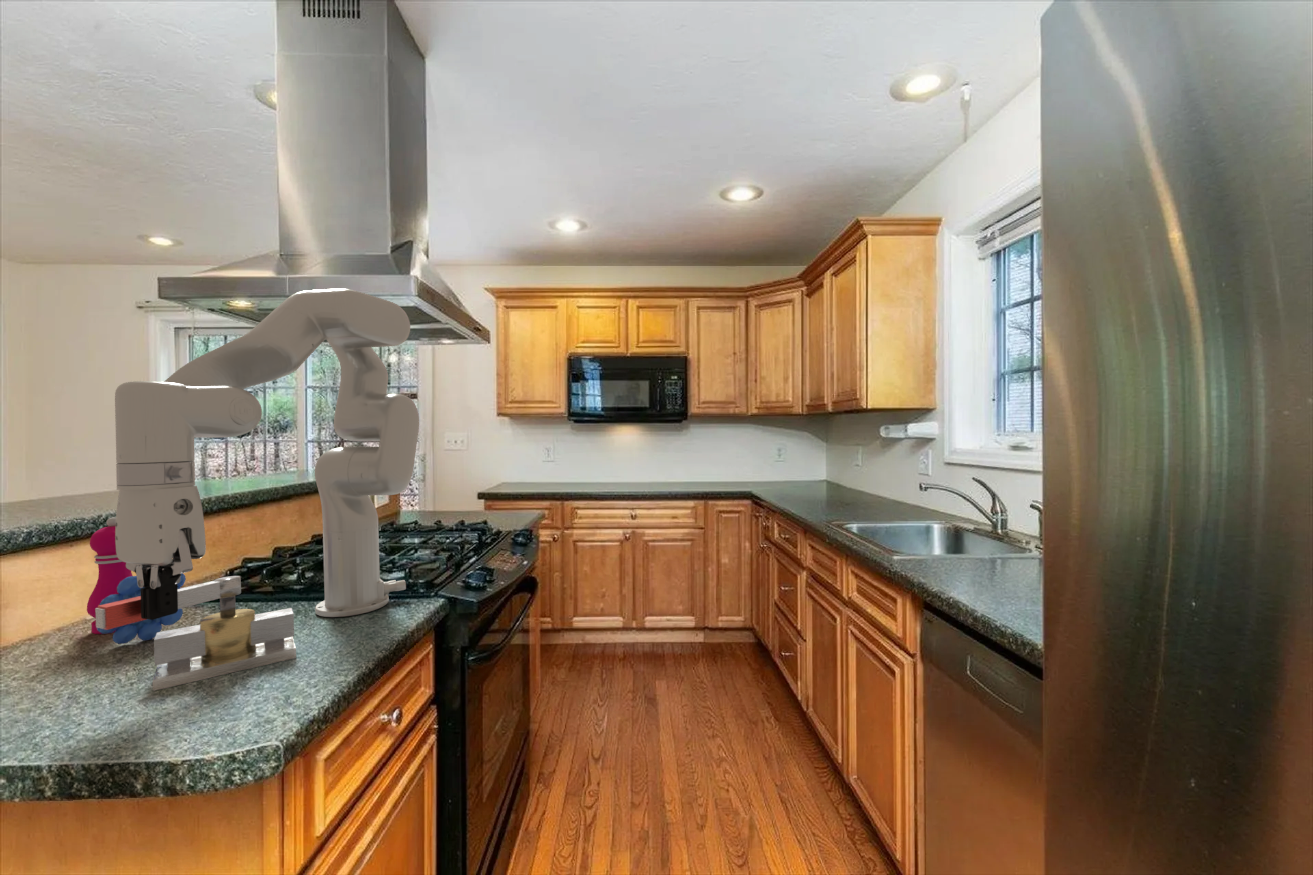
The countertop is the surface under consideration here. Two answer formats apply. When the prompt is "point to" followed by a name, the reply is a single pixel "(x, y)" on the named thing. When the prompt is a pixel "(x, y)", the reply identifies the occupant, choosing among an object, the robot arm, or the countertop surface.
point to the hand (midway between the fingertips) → (159, 615)
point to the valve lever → (187, 596)
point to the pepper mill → (106, 568)
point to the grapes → (142, 628)
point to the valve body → (223, 645)
